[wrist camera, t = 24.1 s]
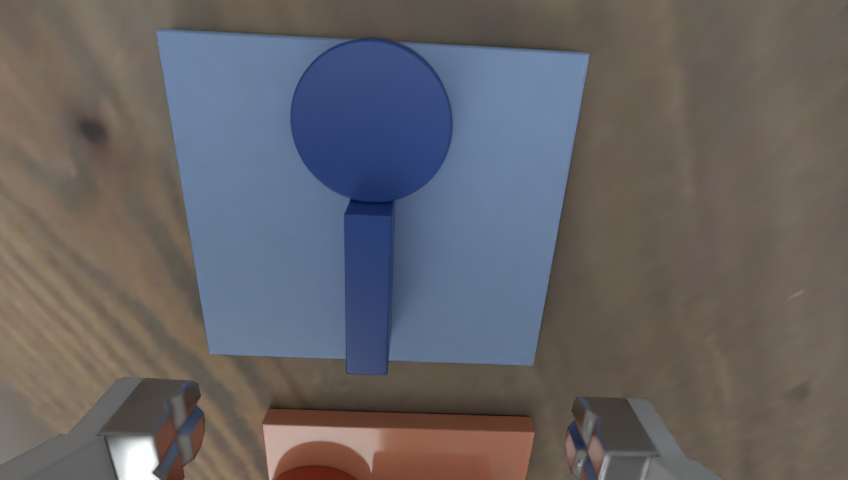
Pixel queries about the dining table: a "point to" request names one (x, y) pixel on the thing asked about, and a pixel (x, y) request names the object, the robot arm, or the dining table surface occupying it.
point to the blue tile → (324, 209)
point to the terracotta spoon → (315, 474)
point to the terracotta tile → (399, 444)
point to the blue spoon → (370, 166)
